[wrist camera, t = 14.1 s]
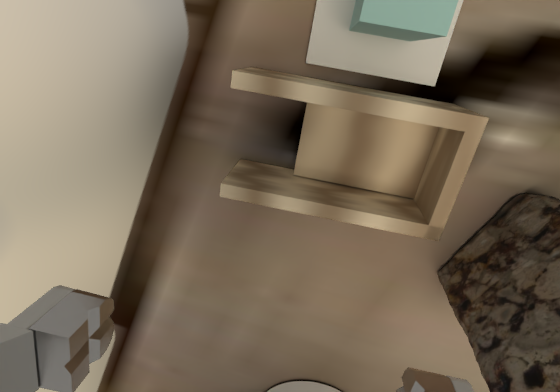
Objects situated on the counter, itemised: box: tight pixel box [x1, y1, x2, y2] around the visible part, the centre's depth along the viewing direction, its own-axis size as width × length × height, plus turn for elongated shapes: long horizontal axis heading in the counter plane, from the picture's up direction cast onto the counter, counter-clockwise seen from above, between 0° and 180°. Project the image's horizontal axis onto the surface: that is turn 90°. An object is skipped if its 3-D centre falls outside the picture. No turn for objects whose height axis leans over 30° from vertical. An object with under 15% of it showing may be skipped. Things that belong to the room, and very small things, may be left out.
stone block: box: [438, 193, 560, 392], centre depth 25 cm, size 13×7×20 cm, turn 153°
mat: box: [306, 0, 463, 86], centre depth 27 cm, size 11×11×1 cm
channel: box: [220, 67, 489, 241], centre depth 29 cm, size 18×10×7 cm, turn 81°
